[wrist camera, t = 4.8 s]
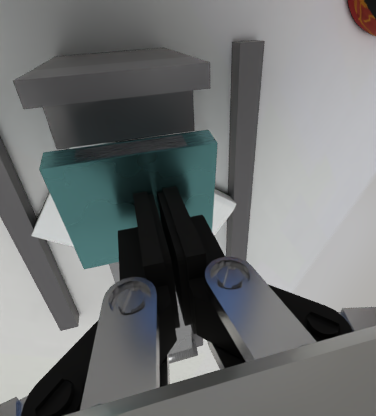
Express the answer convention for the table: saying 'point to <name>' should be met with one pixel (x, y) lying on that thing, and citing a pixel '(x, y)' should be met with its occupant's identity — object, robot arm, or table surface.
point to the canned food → (364, 14)
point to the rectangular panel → (129, 195)
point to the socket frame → (128, 134)
